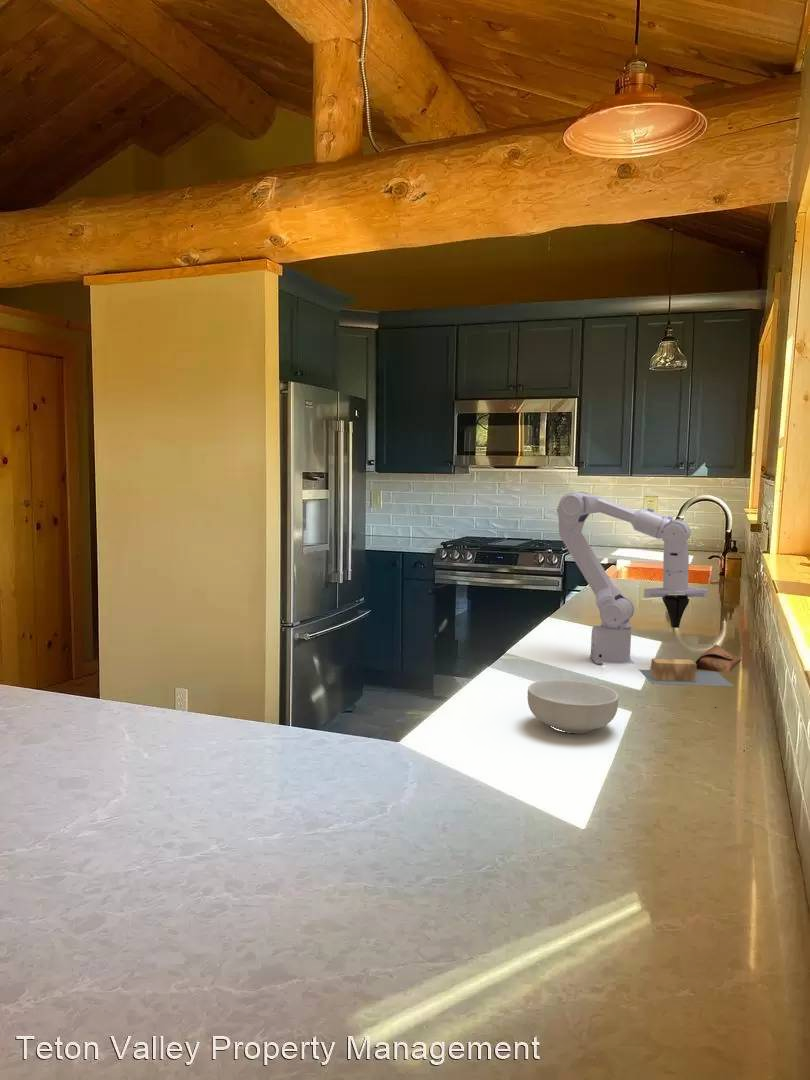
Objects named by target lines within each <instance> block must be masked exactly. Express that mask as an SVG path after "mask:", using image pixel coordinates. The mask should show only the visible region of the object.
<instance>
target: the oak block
mask: <svg viewBox="0 0 810 1080" xmlns="http://www.w3.org/2000/svg"><path fill="white" fill-rule="evenodd" d="M695 662H696V661H695ZM695 662H694V660H692V659H684V658H683V659H681V658H680V659H678V658H677V659H676V658H651V663H650V670H651V676H652V677H653V678H654V679H655V680H661V681H696V671H697V669H696V668H697V664H696V663H695Z"/></svg>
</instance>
